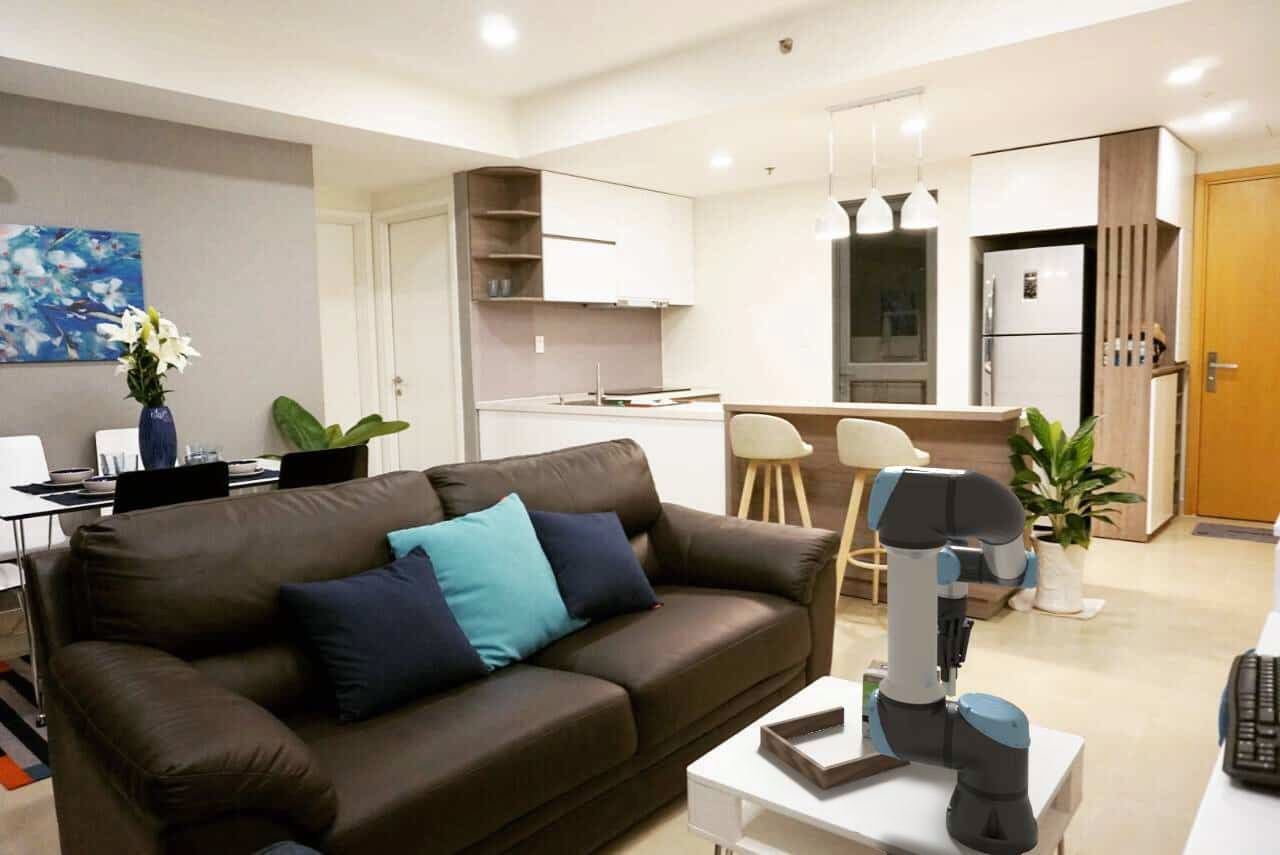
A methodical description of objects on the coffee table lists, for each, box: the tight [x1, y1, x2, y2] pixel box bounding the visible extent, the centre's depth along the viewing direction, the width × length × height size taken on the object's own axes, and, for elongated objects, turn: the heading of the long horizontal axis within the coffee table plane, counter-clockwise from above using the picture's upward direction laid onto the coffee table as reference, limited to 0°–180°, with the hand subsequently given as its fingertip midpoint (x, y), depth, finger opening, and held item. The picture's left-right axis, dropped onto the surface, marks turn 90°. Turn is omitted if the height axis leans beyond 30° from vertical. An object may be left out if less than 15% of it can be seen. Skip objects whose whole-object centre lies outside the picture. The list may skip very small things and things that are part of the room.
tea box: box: [861, 659, 941, 739], centre depth 189 cm, size 15×10×15 cm
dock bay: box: [759, 705, 911, 791], centre depth 182 cm, size 22×22×4 cm
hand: (948, 694), depth 196 cm, fingers closed
